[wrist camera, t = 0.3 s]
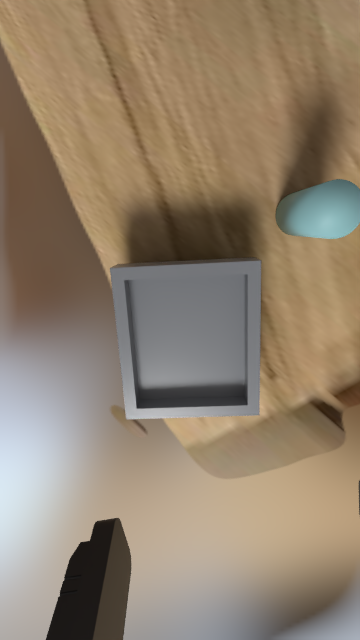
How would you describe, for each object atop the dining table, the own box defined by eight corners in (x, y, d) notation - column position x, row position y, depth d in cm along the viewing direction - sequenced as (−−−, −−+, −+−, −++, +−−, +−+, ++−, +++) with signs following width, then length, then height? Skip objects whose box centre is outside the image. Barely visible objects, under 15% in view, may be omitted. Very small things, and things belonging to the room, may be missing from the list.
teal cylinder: (276, 193, 35) (308, 181, 26) (318, 191, 35) (367, 177, 25) (275, 236, 36) (305, 240, 27) (316, 234, 36) (361, 237, 27)
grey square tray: (123, 261, 38) (110, 268, 31) (249, 254, 37) (261, 260, 31) (135, 390, 42) (126, 419, 36) (248, 386, 41) (259, 415, 35)
